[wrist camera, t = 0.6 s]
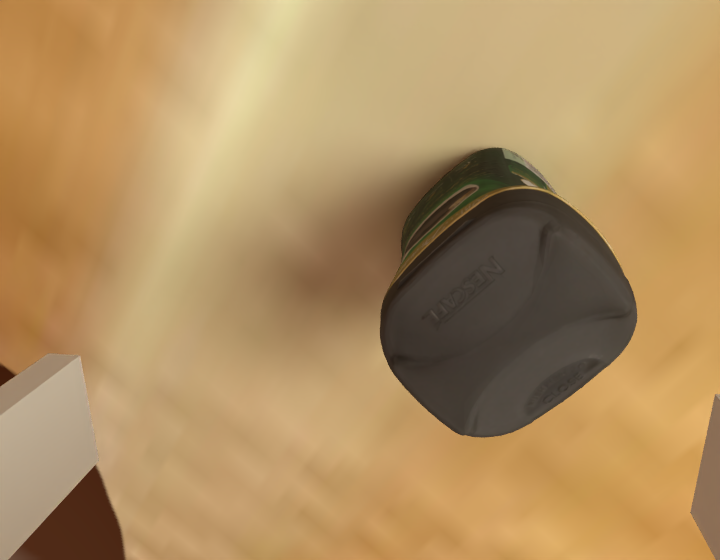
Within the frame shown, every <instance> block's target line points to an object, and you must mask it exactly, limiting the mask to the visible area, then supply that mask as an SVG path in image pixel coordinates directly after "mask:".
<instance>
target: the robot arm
mask: <svg viewBox="0 0 720 560" xmlns="http://www.w3.org/2000/svg"><path fill="white" fill-rule="evenodd" d="M98 461H99V457H98V451H97V446H96V440H95V435H94V429H93V424H92V418H91V413H90V407H89V402H88V396H87V391H86V385H85V380H84V374H83V369H82V363H81V358H80V355H67V354H51V353H48V354H47V355H45V356H44V357H43V358H41V359H40V360H38V361H37V362H35V363H34V364H32V365H31V366H29V367H28V368H27V369H25V370H24V371H22V372H21V373H19V374H18V375H16V376H15V377H14V378H12V379H11V380H9V381H8V382H6V383H5V384H3V385H2V386H1V387H0V560H8V559H9V558H10V557H11V556H12V555H13V554H14V553H15V552H16V551H17V549H18V548H19V547H20V546H21V545H22V544H23V543H24V542H25V541H26V540H27V539H28V537H29V536H30V535H31V534H32V533H33V532H34V531H35V530H36V529H37V528H38V526H39V525H40V524H41V523H42V522H43V521H44V520H45V519H46V518H47V517H48V516H49V514H50V513H51V512H52V511H53V510H54V509H55V508H56V507H57V506H58V505H59V504H60V502H61V501H62V500H63V499H64V498H65V497H66V496H67V495H68V494H69V493H70V492H71V491H72V489H73V488H74V487H75V486H76V485H77V484H78V483H79V482H80V481H81V480H82V478H83V477H84V476H85V475H86V474H87V473H88V472H89V471H90V470H91V469H92V467H94V465H95V464H96V463H97V462H98ZM690 513H691V514H692V516H693V518H694V520H695V522H696V524H697V526H698V527H699V529H700V531H701V533H702V535H703V537H704V539H705V540H706V542H707V544H708V546H709V548H710V550H711V552H712V553H713V555H714V557H715V559H716V560H720V394H715V397H714V402H713V407H712V412H711V416H710V421H709V426H708V431H707V436H706V440H705V445H704V450H703V455H702V460H701V464H700V469H699V474H698V479H697V484H696V488H695V493H694V498H693V503H692V508H691V512H690Z"/></svg>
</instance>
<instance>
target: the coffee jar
mask: <svg viewBox="0 0 720 560" xmlns="http://www.w3.org/2000/svg"><path fill="white" fill-rule="evenodd" d="M401 250H402V261H401V265H400V267H399V269H398V271H397V273H396V275H395V277H394V279H393V281H392V283H391V285H390V287H389V289H388V291H387V293H386V295H385V297H384V300H383V304H382V309H381V324H380V339H381V344H382V349H383V352H384V355H385V357H386V360H387V362H388V365H389V367H390V369H391V370H392V372H393V374H394V375H395V376H396V377H397V379H398V380H399V381H400V382H401V383H402V385H403V386H404V387H405V388H406V389H407V390H408V391H409V392H410V393H411V394H412V396H413V397H414V398H415V399H416V400H417V401H418V402H419V403H420V404H421V405H422V406H424V407H425V408H426V409H427V410H428V411H429V412H430V413H431V414H432V415H434V416H435V417H436V418H437V419H438V420H439V421H441V422H442V423H443V424H445V425H446V426H447V427H449V428H450V429H451V430H453V431H454V432H456V433H458V434H460V435H467V436H472V437H494V436H501V435H505V434H508V433H512V432H514V431H516V430H518V429H520V428H523V427H525V426H526V425H528V424H530V423H532V422H533V421H534V420H536V419H537V418H539V417H540V416H542V415H543V414H545V413H546V412H548V411H549V410H551V409H553V408H554V407H555V406H557V405H558V404H560V403H561V402H563V401H564V400H565V399H567V398H568V397H570V396H571V395H572V394H574V393H575V392H576V391H578V390H579V389H580V388H582V387H583V386H584V385H585V384H586V383H588V382H589V381H590V380H591V379H593V378H594V377H595V376H596V375H597V374H598V373H600V372H601V371H602V370H603V369H604V368H606V367H607V366H609V365H610V364H611V363H612V362H613V361H614V360H615V359H616V358H617V357H618V356H619V355H620V354H621V353H622V351H623V350H624V349H625V348H626V346H627V345H628V343H629V341H630V340H631V337H632V335H633V333H634V330H635V327H636V323H637V308H636V302H635V298H634V294H633V291H632V289H631V286H630V284H629V281H628V280H627V278H626V277H625V275H624V273H623V270H622V267H621V265H620V262H619V260H618V258H617V256H616V254H615V253H614V251H613V249H612V248H611V246H610V245H609V243H608V242H607V241H606V239H605V238H604V236H603V235H602V234H601V233H600V232H599V230H598V229H597V228H596V227H595V226H594V225H593V224H592V223H591V222H590V221H589V220H588V219H587V218H586V217H585V216H584V215H583V214H582V213H581V212H580V211H579V210H578V209H576V208H575V207H574V206H573V205H571V204H570V203H569V202H567V201H566V200H565V199H563V198H562V197H560V196H558V195H557V194H556V192H555V191H554V189H553V188H552V187H551V185H550V184H549V183H548V181H547V180H546V179H545V178H544V177H543V175H542V174H541V173H540V172H539V171H538V170H537V169H536V168H535V167H533V166H532V165H531V164H530V163H529V162H528V161H526V160H525V159H524V158H522V157H521V156H520V155H518V154H516V153H515V152H512V151H510V150H507V149H503V148H489V149H484V150H481V151H479V152H476V153H474V154H472V155H471V156H469V157H468V158H467V159H465V160H464V161H462V162H461V163H460V164H459V165H457V166H456V167H455V168H454V169H452V170H451V171H450V172H449V173H448V174H447V175H446V176H444V177H443V178H442V179H441V180H440V181H439V182H438V183H437V184H436V185H435V186H434V187H433V188H432V189H431V190H430V191H429V192H428V193H427V194H426V195H425V196H424V197H423V198H422V199H421V201H420V202H419V203H418V204H417V206H416V207H415V208H414V209H413V211H412V212H411V213H410V215H409V216H408V218H407V220H406V222H405V225H404V228H403V232H402V240H401Z"/></svg>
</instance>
